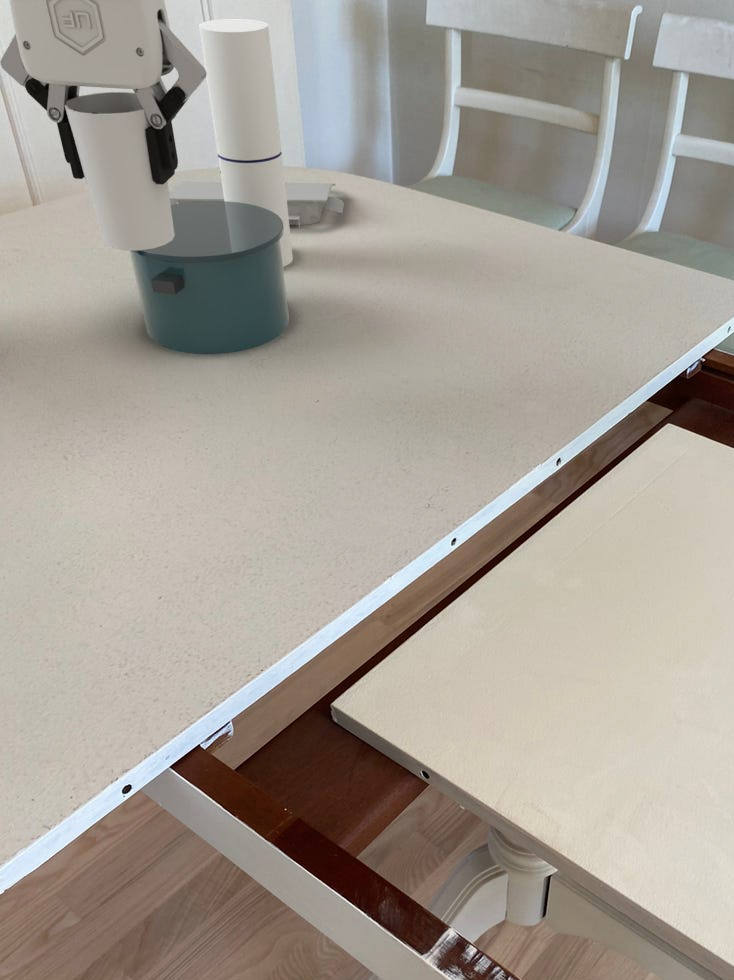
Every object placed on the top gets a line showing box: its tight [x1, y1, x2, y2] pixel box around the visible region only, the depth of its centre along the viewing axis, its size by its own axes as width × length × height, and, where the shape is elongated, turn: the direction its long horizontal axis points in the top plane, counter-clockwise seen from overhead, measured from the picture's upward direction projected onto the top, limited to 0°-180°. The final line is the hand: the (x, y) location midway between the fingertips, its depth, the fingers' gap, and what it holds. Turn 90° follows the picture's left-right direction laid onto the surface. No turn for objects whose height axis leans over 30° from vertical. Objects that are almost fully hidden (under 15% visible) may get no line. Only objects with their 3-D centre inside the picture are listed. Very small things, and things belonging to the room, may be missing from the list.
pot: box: [129, 201, 290, 355], centre depth 101 cm, size 16×19×11 cm
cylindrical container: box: [198, 18, 294, 268], centre depth 110 cm, size 7×7×25 cm
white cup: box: [65, 91, 175, 251], centre depth 77 cm, size 7×7×10 cm
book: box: [169, 181, 345, 230], centre depth 130 cm, size 15×23×4 cm, turn 92°
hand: (124, 174), depth 77 cm, fingers closed on white cup, 5 cm apart
